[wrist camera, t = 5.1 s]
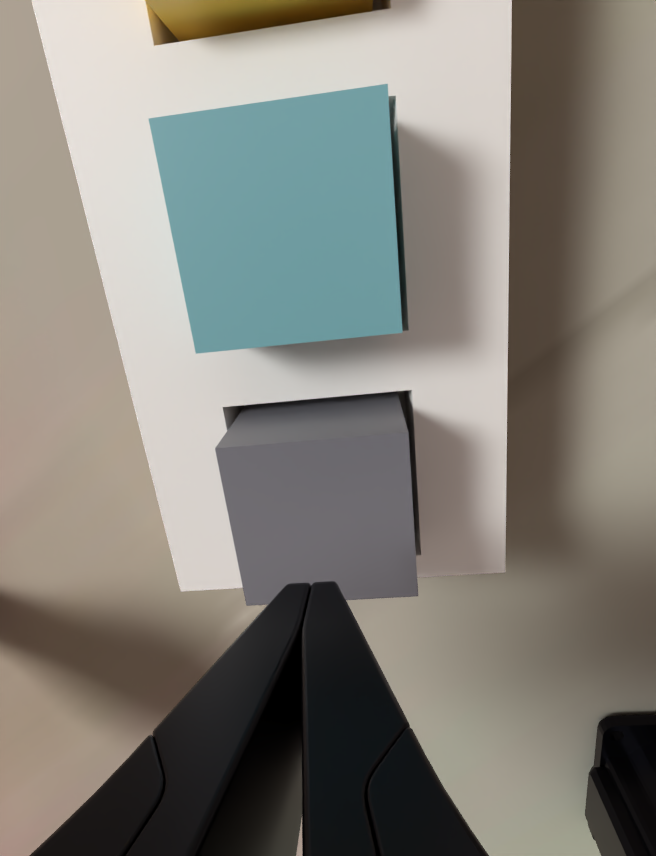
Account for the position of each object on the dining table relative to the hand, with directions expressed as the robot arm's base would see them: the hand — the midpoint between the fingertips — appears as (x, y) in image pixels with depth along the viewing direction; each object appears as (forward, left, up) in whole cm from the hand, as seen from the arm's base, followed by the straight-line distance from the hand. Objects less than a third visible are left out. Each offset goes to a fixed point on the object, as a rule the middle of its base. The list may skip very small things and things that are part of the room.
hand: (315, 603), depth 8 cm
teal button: (0, -6, -6) cm, 8 cm away
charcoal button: (0, 0, -6) cm, 6 cm away
